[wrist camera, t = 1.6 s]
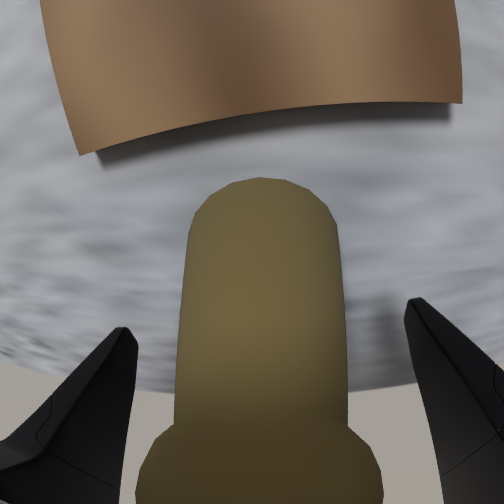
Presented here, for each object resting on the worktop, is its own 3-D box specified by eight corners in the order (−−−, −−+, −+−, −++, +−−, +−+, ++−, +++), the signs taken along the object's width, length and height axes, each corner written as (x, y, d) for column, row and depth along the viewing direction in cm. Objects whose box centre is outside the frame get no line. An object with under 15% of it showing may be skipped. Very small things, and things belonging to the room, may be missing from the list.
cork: (364, 256, 13) (438, 536, 4) (255, 319, 15) (245, 558, 6) (275, 143, 10) (302, 603, 1) (158, 239, 13) (60, 527, 4)
